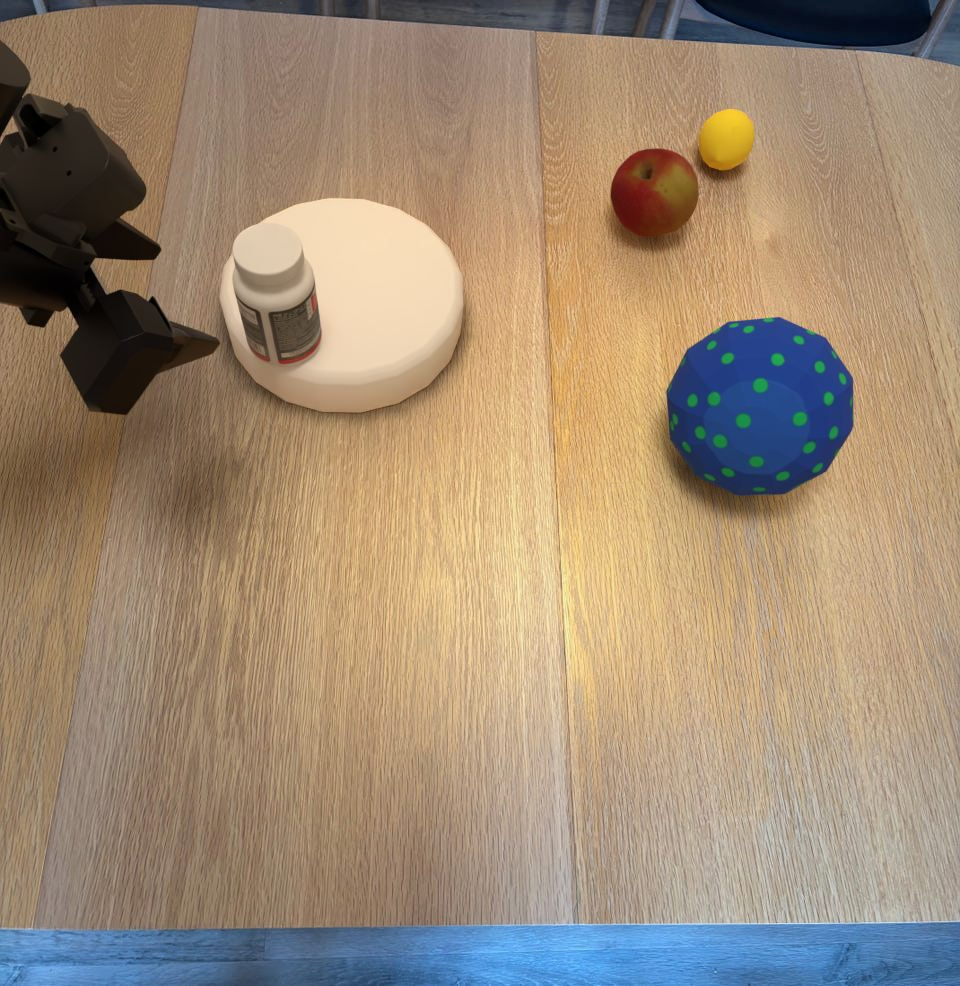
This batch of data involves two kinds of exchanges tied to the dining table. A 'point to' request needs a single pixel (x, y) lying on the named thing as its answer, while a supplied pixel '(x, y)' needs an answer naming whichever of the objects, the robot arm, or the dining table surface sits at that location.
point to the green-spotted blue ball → (760, 406)
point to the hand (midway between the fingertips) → (186, 298)
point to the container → (363, 307)
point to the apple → (654, 192)
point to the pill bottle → (276, 294)
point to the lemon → (726, 139)
